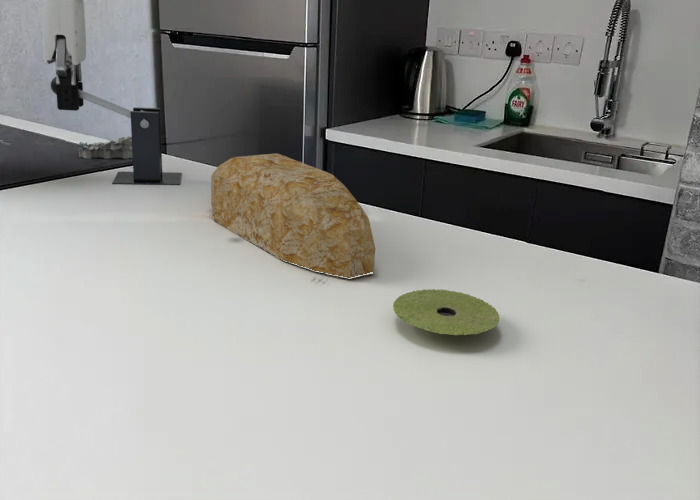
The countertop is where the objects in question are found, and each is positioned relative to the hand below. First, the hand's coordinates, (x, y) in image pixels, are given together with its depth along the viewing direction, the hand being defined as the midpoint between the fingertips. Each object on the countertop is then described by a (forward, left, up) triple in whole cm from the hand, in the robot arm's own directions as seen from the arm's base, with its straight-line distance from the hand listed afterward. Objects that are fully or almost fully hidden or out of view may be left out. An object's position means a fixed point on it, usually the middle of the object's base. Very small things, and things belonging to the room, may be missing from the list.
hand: (70, 106), depth 112 cm
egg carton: (+3, +18, -13) cm, 22 cm away
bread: (+32, -27, -13) cm, 44 cm away
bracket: (+12, 0, -13) cm, 17 cm away
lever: (+5, 0, -1) cm, 5 cm away
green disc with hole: (+47, -57, -13) cm, 75 cm away
